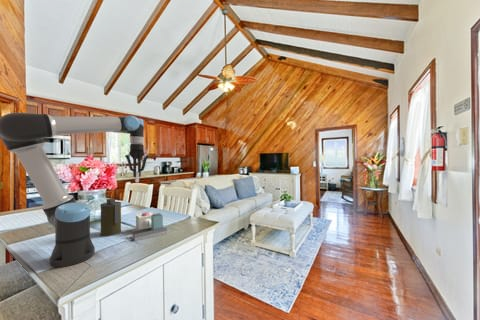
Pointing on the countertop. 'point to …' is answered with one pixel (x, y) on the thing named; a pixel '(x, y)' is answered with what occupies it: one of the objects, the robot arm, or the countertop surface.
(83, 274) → the countertop surface
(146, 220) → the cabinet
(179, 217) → the countertop surface
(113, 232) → the canister
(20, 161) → the robot arm
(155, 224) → the block
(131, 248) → the countertop surface
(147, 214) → the button
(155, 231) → the rail
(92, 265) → the countertop surface
